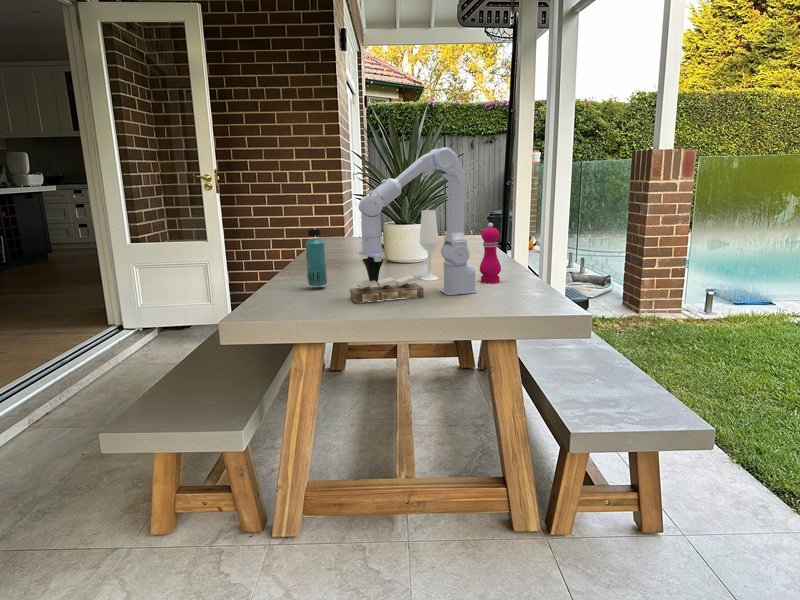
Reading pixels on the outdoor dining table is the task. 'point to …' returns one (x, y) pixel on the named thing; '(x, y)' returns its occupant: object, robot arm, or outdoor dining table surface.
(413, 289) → the switch unit
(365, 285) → the switch
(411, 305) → the outdoor dining table surface
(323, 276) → the beverage bottle
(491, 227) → the pepper mill
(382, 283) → the switch
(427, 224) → the champagne flute
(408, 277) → the switch
